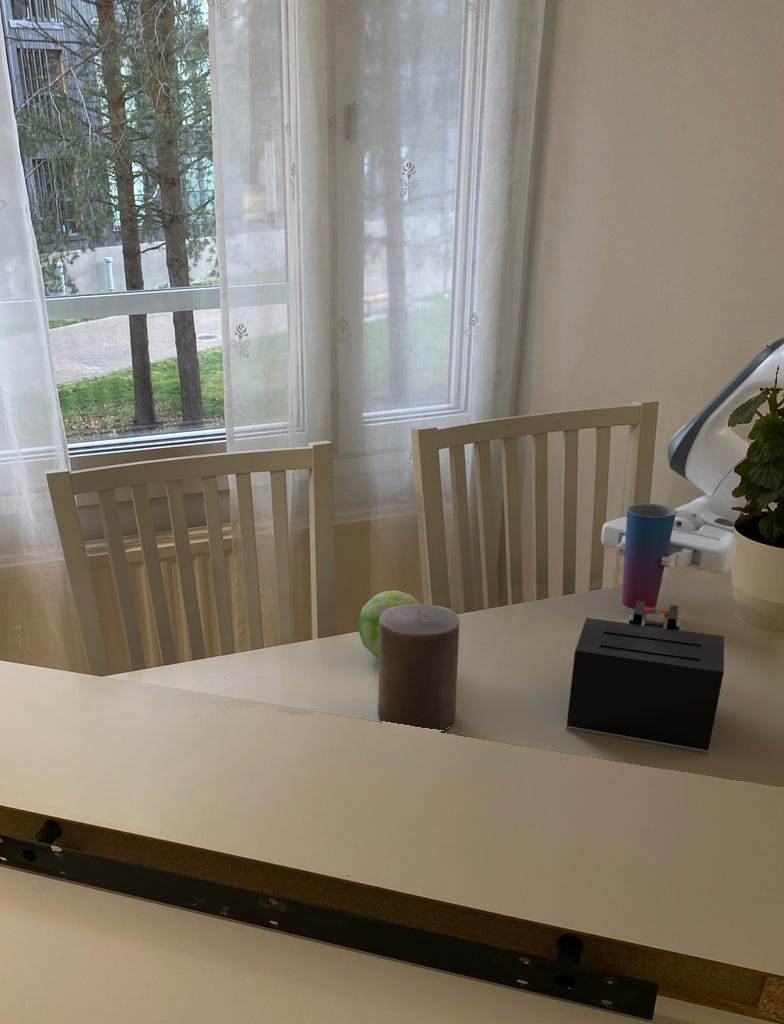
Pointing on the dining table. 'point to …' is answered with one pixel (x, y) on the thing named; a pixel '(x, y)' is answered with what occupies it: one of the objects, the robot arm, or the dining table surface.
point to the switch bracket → (639, 611)
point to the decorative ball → (372, 613)
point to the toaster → (646, 684)
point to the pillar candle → (418, 666)
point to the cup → (645, 552)
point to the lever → (655, 617)
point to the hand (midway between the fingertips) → (642, 556)
